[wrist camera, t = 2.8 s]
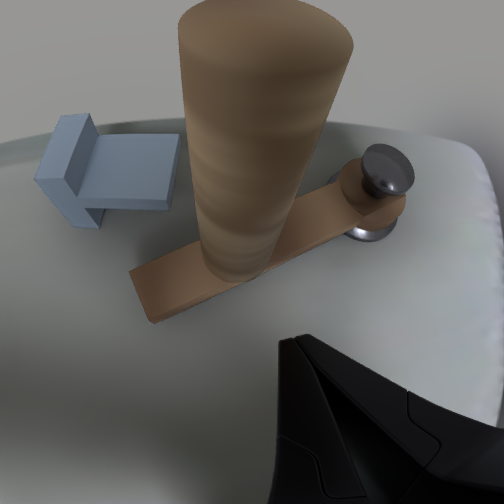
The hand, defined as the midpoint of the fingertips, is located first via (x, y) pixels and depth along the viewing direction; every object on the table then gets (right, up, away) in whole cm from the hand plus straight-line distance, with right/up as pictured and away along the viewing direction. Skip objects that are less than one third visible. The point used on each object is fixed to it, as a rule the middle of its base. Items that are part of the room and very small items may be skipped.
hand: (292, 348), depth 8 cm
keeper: (-9, +7, +12) cm, 17 cm away
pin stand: (+7, +6, +13) cm, 16 cm away
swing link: (+1, +4, +11) cm, 11 cm away
